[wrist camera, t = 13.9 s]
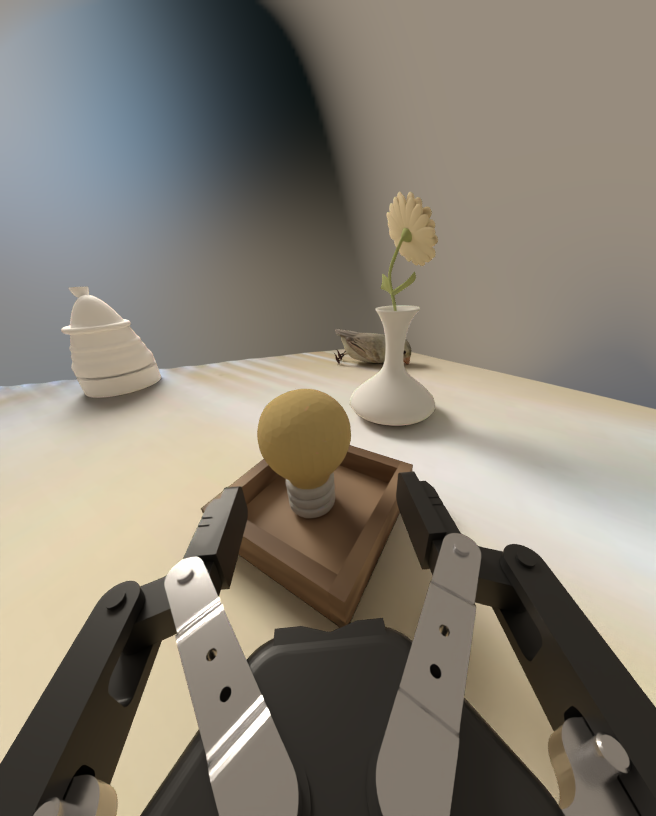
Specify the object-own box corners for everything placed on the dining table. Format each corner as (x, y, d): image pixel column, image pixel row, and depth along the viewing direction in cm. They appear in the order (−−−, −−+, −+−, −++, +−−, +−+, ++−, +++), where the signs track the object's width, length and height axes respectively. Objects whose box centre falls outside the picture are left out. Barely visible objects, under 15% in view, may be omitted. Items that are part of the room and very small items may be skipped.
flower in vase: (445, 434, 31) (498, 153, 19) (349, 435, 32) (345, 168, 20) (419, 390, 42) (442, 198, 31) (349, 391, 43) (346, 206, 32)
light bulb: (324, 467, 25) (316, 369, 20) (368, 510, 20) (371, 396, 16) (262, 497, 22) (236, 391, 18) (296, 556, 17) (273, 431, 13)
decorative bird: (410, 369, 52) (414, 331, 48) (332, 367, 56) (331, 331, 52) (409, 361, 57) (412, 325, 53) (337, 359, 60) (336, 326, 57)
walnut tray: (345, 631, 14) (344, 602, 13) (211, 535, 20) (201, 508, 19) (409, 490, 23) (412, 464, 22) (303, 452, 29) (300, 429, 28)
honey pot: (75, 389, 51) (20, 290, 43) (144, 370, 60) (110, 285, 52) (100, 403, 45) (41, 289, 36) (173, 378, 54) (139, 283, 46)
